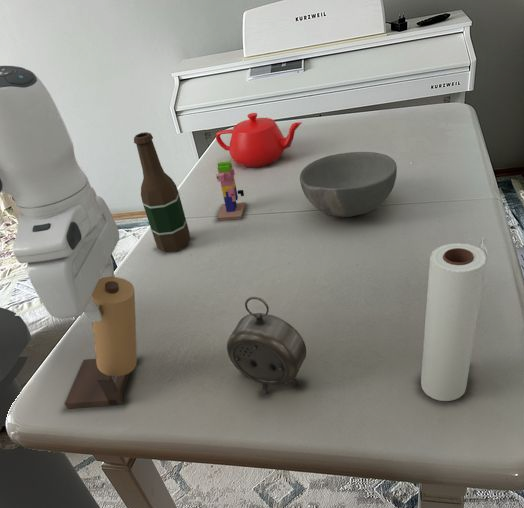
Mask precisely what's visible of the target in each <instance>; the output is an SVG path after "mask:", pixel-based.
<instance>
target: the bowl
mask: <svg viewBox="0 0 524 508" xmlns="http://www.w3.org/2000/svg"><path fill="white" fill-rule="evenodd" d="M397 167H398V166H397V162H396V161H395V160H394V158H393V157H391V156H389V155H387V154H385V153H381V152H380V153H379V152H374V151H353V152H351V151H350V152H343V153H335V154H330V155H327V156H324V157H321V158H318V159H316V160H314V161H312V162H310V163H308V164H307V165H306V166H304V167H303V169H302V170H301V172H300V174H299V184H300V187H301V190H302V192H303V194H304V196H305V198H306V199H307V200H308V202H309V203H310V204H311V205H312V206H313V207H314V208H316V209H317V210H319V211H320V212H322V213H323V214H326V215H328V216H332V217H342V218H346V217H347V218H348V217H355V216H360V215H364V214H367V213H370V212H372V211H374V210H376V209H377V208H379V207H380V206H382V204H383V203H384V202H385V201H386V200H387V198H389V196H390V195H391V193H392V191H393V190H394V187H395V184H396V179H397V172H398V171H397V170H398V169H397Z"/></svg>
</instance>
